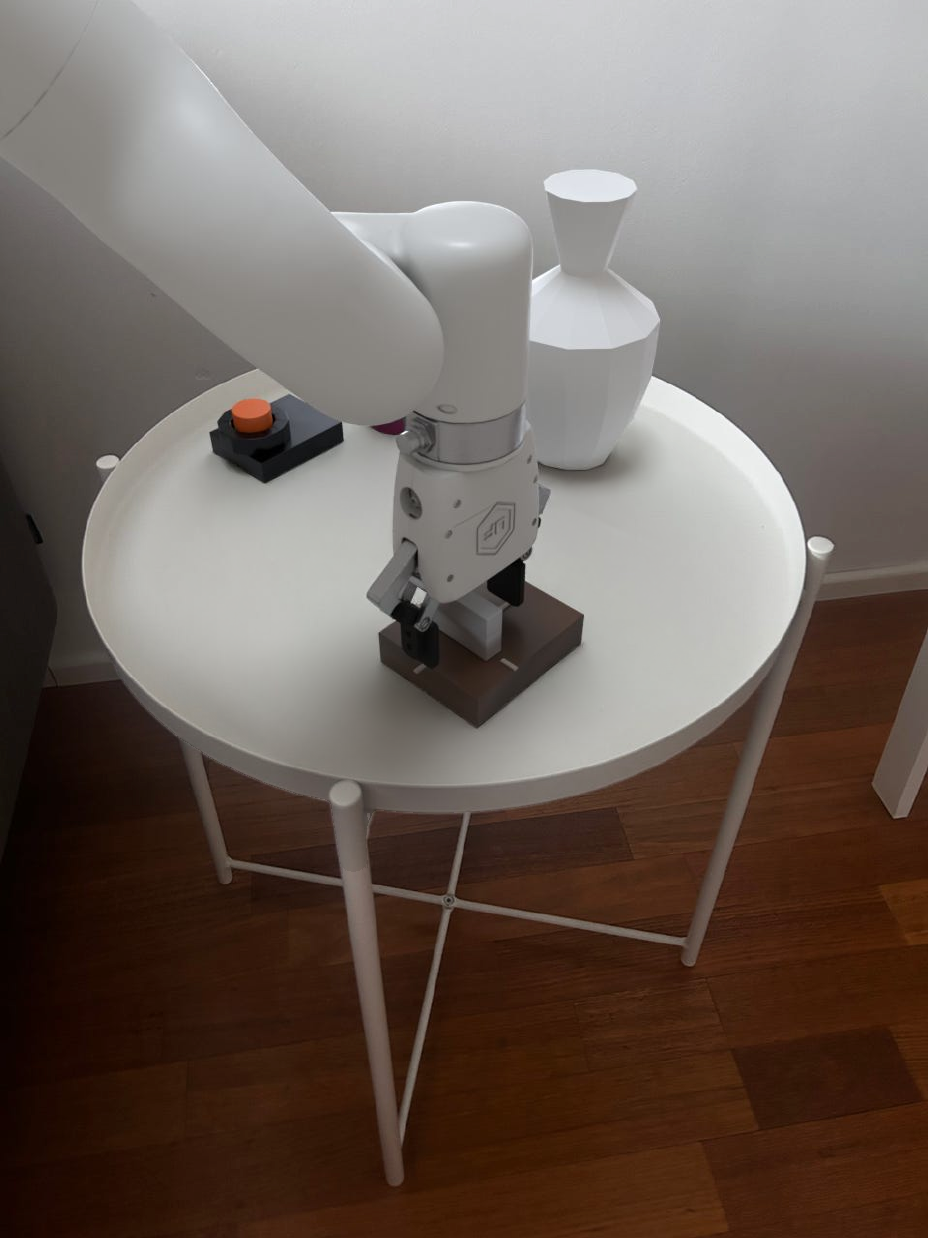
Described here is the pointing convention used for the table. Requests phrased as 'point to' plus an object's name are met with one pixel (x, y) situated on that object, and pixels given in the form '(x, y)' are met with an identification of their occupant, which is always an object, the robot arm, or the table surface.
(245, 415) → the button
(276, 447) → the button box
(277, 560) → the table surface
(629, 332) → the vase
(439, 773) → the table surface
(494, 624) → the grey rectangular block
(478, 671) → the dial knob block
